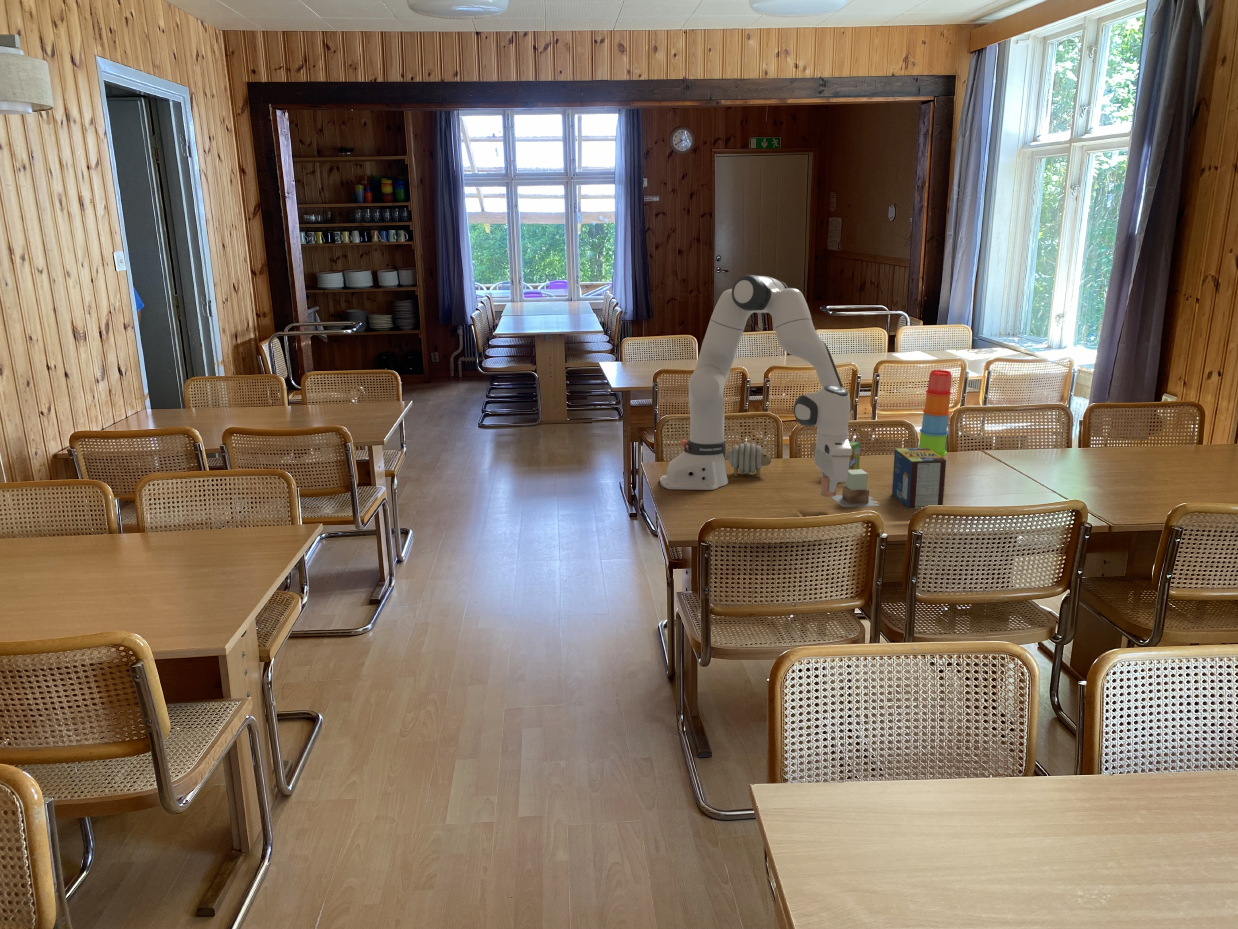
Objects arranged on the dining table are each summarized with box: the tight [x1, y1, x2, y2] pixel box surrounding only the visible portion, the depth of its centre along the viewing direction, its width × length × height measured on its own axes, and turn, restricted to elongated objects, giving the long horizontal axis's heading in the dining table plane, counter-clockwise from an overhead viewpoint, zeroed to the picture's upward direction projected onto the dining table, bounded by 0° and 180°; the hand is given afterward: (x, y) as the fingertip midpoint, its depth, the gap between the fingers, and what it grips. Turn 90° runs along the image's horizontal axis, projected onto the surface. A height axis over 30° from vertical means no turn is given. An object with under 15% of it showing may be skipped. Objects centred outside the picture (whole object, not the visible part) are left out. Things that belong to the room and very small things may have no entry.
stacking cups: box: [917, 369, 953, 459], centre depth 301 cm, size 10×10×35 cm
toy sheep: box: [724, 442, 772, 478], centre depth 304 cm, size 11×17×11 cm, turn 84°
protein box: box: [891, 447, 947, 510], centre depth 270 cm, size 10×15×16 cm
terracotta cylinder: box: [819, 476, 837, 498], centre depth 264 cm, size 4×4×5 cm
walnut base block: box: [841, 484, 870, 504], centre depth 273 cm, size 6×6×4 cm
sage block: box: [844, 468, 869, 490], centre depth 272 cm, size 5×5×5 cm
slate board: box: [831, 494, 879, 508], centre depth 273 cm, size 12×12×1 cm
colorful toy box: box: [849, 440, 861, 470], centre depth 300 cm, size 9×9×15 cm
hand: (828, 488), depth 264 cm, fingers closed on terracotta cylinder, 4 cm apart
